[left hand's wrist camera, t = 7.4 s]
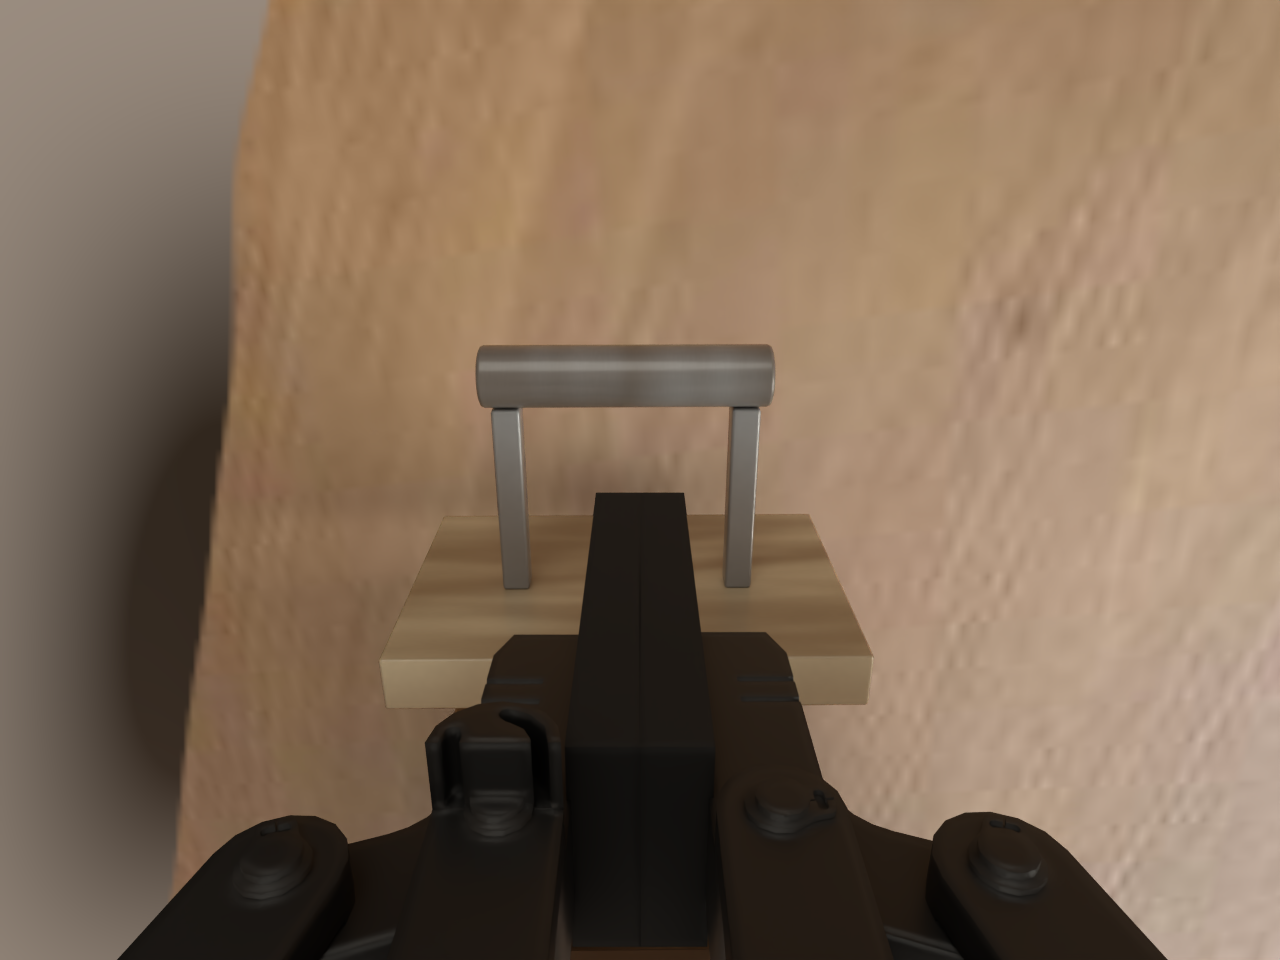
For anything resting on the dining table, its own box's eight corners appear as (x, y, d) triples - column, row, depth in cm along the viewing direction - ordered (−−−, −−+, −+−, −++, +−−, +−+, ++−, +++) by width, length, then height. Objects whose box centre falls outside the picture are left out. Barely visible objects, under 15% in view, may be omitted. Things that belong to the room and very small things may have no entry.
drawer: (423, 308, 21) (337, 390, 15) (827, 307, 21) (909, 387, 15) (484, 926, 29) (447, 1141, 23) (774, 922, 29) (813, 1135, 23)
